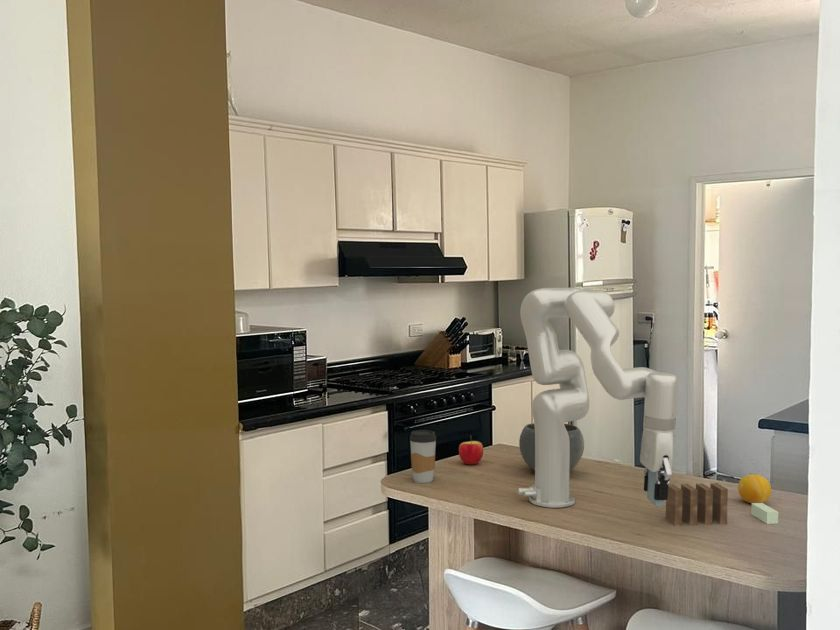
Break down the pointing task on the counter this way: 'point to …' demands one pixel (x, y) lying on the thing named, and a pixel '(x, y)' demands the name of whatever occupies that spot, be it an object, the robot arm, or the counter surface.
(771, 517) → the block
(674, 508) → the domino
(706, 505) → the domino
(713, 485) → the domino
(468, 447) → the apple
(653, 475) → the domino
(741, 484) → the fruit
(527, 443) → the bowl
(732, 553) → the counter surface
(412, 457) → the coffee cup
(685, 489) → the domino
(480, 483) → the counter surface
